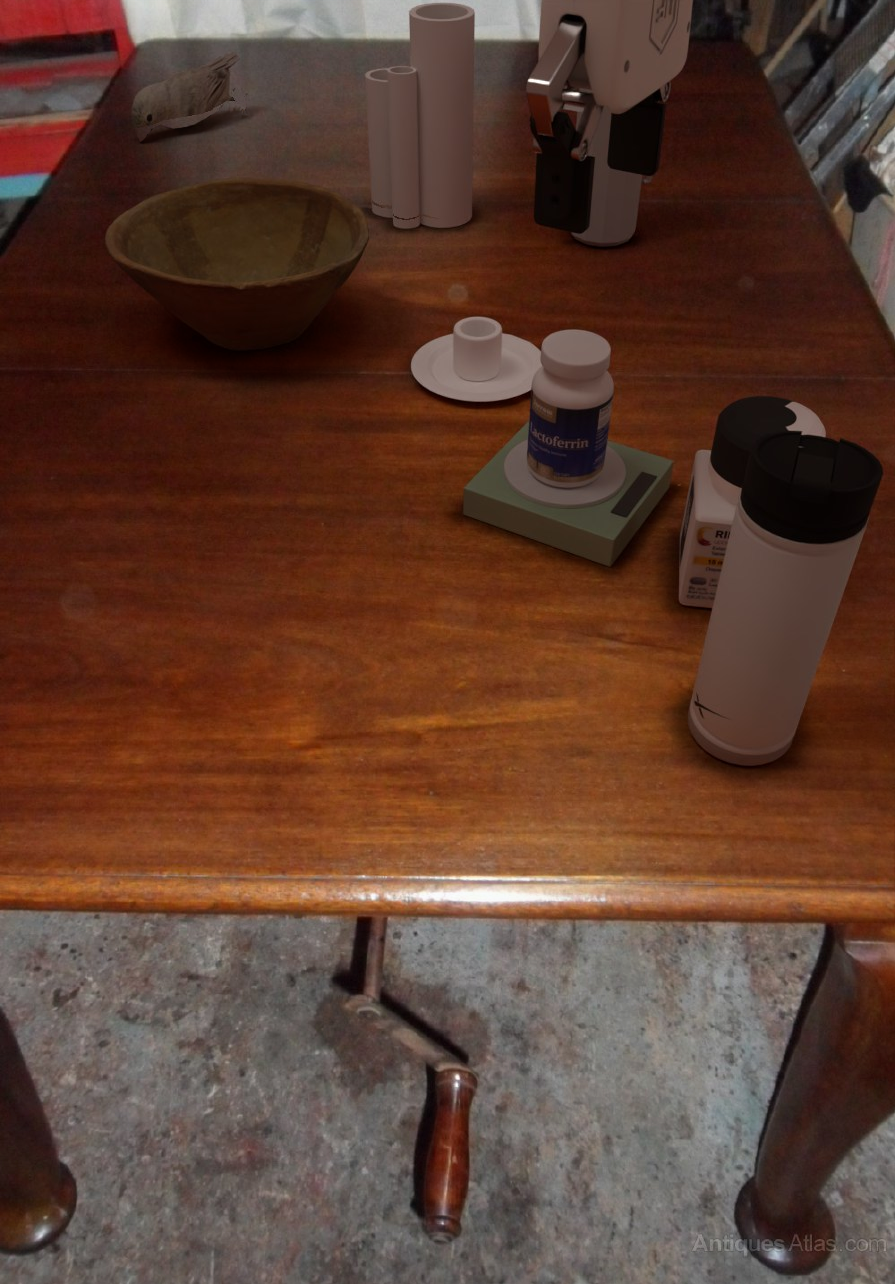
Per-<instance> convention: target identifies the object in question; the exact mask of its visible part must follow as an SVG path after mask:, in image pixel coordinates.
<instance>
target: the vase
mask: <svg viewBox="0 0 895 1284" xmlns="http://www.w3.org/2000/svg"><path fill="white" fill-rule="evenodd" d="M475 14H476V12H475V9H474V8H472V7H471V6H468V5H465V4H461V3H455V2H431V3H424V4H419V5H416V6H414V7H412V8H410V10H408V15H409V16H408V17H409V19H408V22H409V23H408V25H409V60H410V62H409V63H410V66H408V65H397V66H396V65H395V66H391V67H383V68H376V69H372V70H369V71H367V72H366V73H364V80H365V81H364V83H365V84H364V85H365V99H366V100H365V102H366V119H367V140H368V157H369V178H370V198H372V199H371V201H372V200H373V201H374V202H375V203H377V204H379V205H389V206H391V205H392V209H387V208H381V207H378V206H376V205H374V204H373V203H372V202H371V212H372V213H373V214H374V215H376V216H378V217H383V218H388V219H389V218H390V219H392V225H393V226H394V227H395V228H398V229H403V230H406V229H407V230H409V229H414V228H418V227H420V225H423V226H425V227H430V228H438V229H447V228H448V229H450V228H455V227H459V226H462V225H464V224H466V223H468V222H470V221H471V219H472V217H473V173H474V172H473V170H474V169H473V167H474V101H475V100H474V99H475V97H474V94H475V30H476V29H475V27H476V26H475V25H476V23H475V22H476V21H475V19H476V15H475ZM419 213H422V214H425V215H428V216H431V217H435V218H439V219H434V218H429V217H425V216H422V215H420V216H419V217H417V216H418V215H419ZM393 214H394V216H397V217H399V218H404V219H409V218H413V217H417V218H415V219H410V220H402V219H397V218H395V217H394V216H393Z"/></svg>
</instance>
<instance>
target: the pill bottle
mask: <svg viewBox="0 0 895 1284" xmlns="http://www.w3.org/2000/svg"><path fill="white" fill-rule="evenodd" d="M540 351H541V357H540V361H541V364H542V366H541V367H540V368H539V369H538V370H537V372H536V373H535V375H534V377H533V380H532V387H531V390H530V401H529V402H530V403H529V417H528V421H529V431H528V446H527V466H528V468H529V470H530V472H531V473H532V474H533V476H534V477H536V478H537V479H538V480H540V481H541V482H543V483H546V484H548V485H552V486H556V487H565V488H572V487H579V486H583V485H586V484H589V483H591V482H592V481H594V480H595V479H597V478H598V477H599V475H600V474H601V472H602V470H603V467H604V462H605V454H606V447H607V440H609V439H608V437H609V431H610V424H611V417H612V416H611V415H612V406H613V399H614V393H615V392H614V391H615V390H614V389H615V383H614V380H613V378H612V375H611V374H610V372H608V371H609V367H610V365H611V362H610V361H611V353H612V348H611V346H610V343H609V342H608V341H607V340H606V338H604V337H603V336H601V335H599V334H597V333H595V332H592V331H588V330H583V329H563V330H559V331H554V332H553V333H550V334H548V335H547V336H546V337H545V338H544V339H543V341H542V344H541V348H540Z"/></svg>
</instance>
